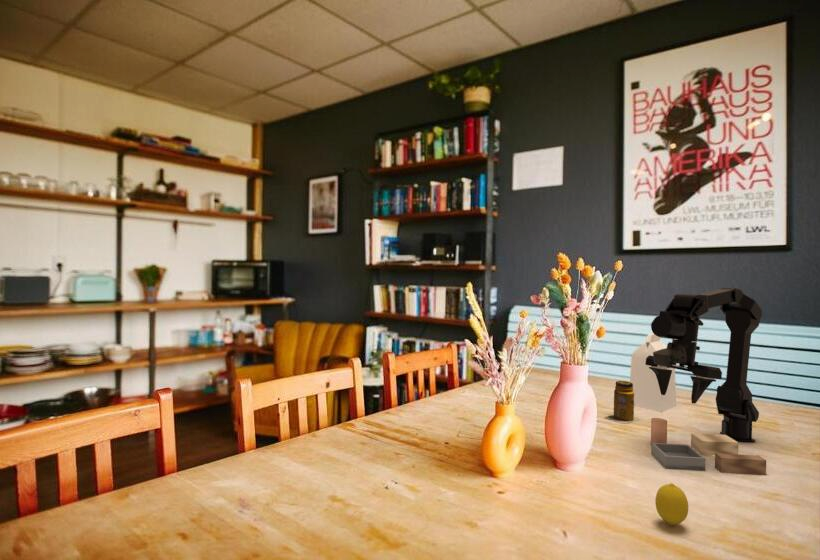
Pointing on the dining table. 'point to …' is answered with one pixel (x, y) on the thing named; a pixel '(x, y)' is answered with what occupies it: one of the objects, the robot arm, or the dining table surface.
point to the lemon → (671, 504)
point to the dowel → (658, 430)
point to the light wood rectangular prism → (713, 444)
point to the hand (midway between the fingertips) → (677, 399)
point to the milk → (650, 379)
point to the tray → (678, 456)
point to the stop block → (740, 463)
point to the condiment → (623, 403)
